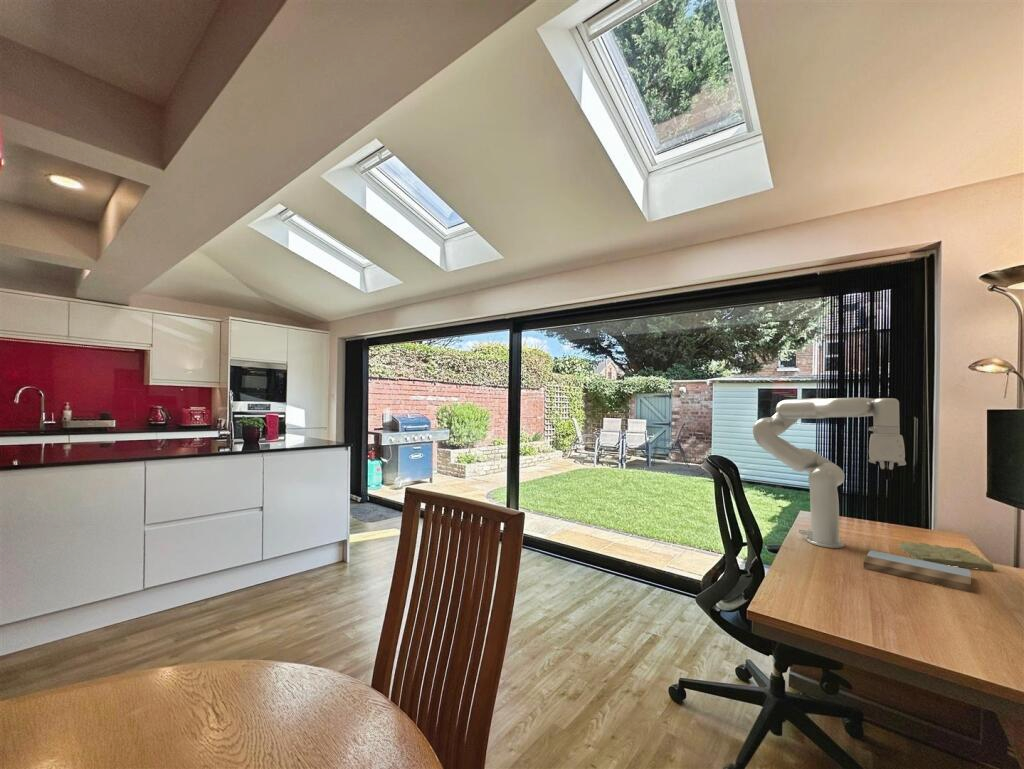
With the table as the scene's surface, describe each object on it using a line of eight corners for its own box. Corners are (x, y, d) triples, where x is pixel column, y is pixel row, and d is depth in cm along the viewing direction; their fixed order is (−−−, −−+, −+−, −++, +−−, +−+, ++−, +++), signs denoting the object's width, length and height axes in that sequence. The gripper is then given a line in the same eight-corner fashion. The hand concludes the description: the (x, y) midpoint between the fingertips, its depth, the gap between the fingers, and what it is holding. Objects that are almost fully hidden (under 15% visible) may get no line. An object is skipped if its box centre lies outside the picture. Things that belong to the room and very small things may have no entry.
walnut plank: (863, 568, 153) (863, 561, 153) (866, 562, 158) (866, 556, 158) (971, 592, 134) (971, 584, 134) (970, 584, 140) (970, 577, 140)
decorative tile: (994, 573, 151) (994, 562, 151) (922, 565, 158) (921, 555, 158) (960, 554, 169) (960, 545, 169) (896, 548, 175) (896, 539, 175)
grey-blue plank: (867, 561, 159) (866, 555, 159) (870, 555, 164) (869, 550, 164) (970, 583, 140) (970, 577, 140) (970, 575, 146) (969, 569, 146)
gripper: (859, 430, 168) (860, 478, 167) (912, 432, 157) (913, 483, 156) (862, 429, 173) (863, 475, 172) (913, 431, 162) (914, 481, 162)
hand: (887, 479), depth 164 cm, fingers closed
